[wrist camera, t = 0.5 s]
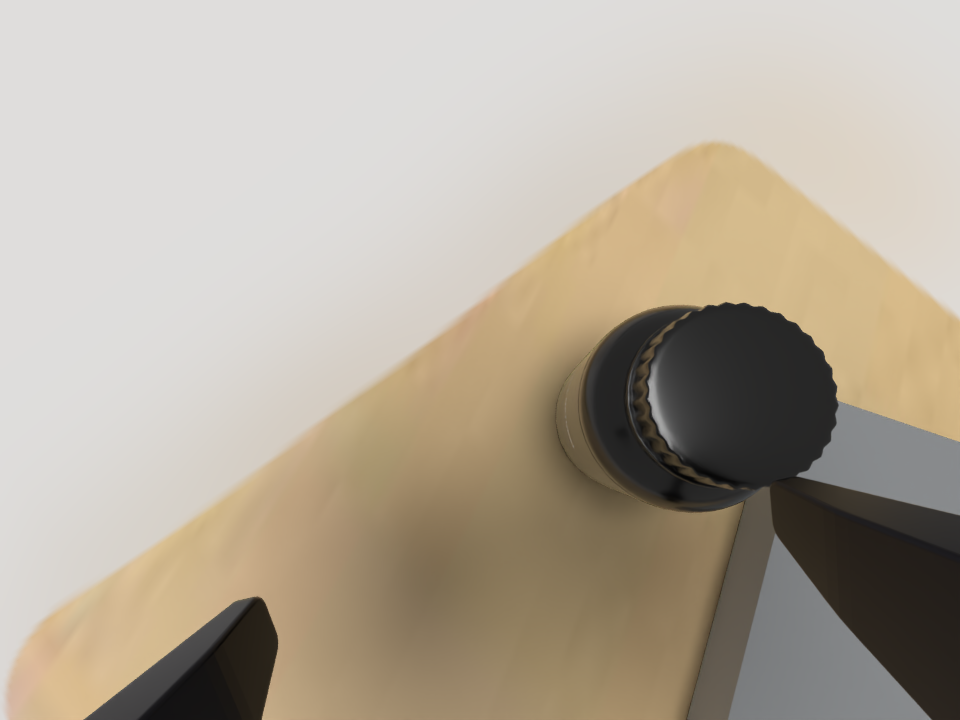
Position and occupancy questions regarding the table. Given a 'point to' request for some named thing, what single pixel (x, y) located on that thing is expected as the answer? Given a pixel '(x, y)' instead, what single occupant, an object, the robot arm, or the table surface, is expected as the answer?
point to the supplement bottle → (698, 406)
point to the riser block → (815, 591)
